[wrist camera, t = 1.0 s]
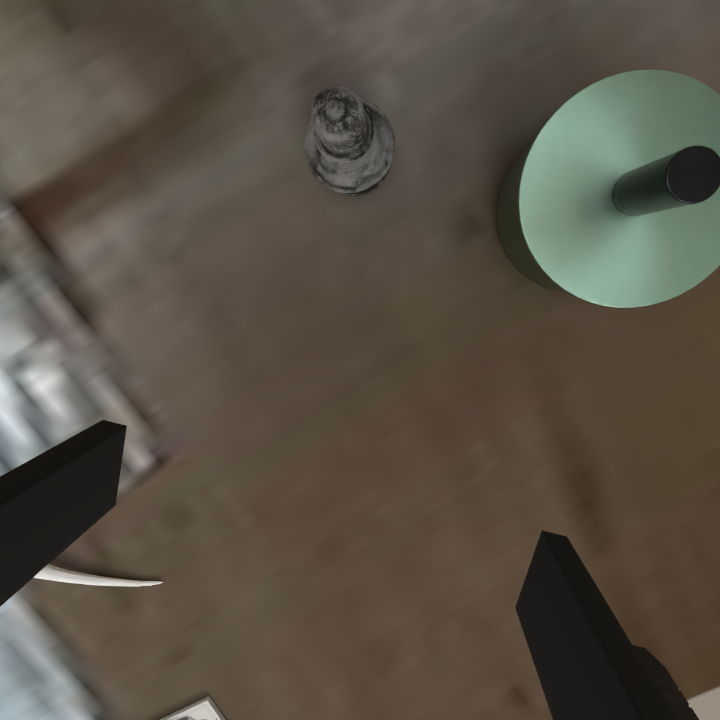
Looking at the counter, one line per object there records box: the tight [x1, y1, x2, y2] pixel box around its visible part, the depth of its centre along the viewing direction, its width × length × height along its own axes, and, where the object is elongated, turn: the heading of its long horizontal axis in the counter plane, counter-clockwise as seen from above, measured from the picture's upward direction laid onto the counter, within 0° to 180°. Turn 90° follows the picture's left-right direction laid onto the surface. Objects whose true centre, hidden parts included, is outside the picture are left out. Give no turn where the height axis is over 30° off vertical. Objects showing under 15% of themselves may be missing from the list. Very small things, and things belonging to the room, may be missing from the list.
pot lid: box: [517, 70, 720, 308], centre depth 25 cm, size 12×12×7 cm
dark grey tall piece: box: [304, 86, 394, 196], centre depth 30 cm, size 6×6×12 cm
